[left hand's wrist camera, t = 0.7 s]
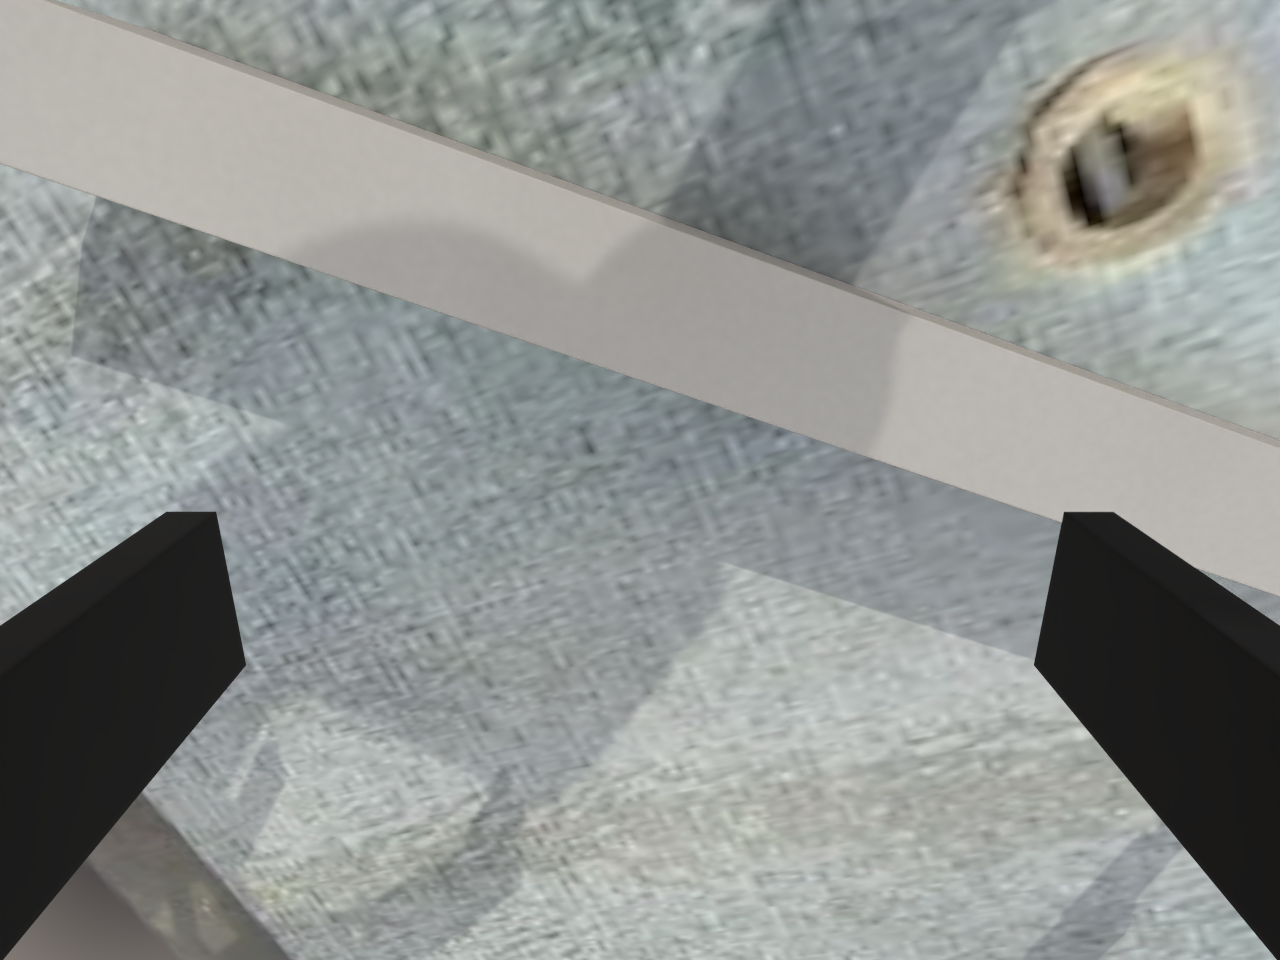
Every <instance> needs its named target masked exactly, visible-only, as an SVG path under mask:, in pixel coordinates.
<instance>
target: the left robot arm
mask: <svg viewBox="0 0 1280 960" xmlns="http://www.w3.org/2000/svg"><path fill="white" fill-rule="evenodd" d="M245 666H246V662H245V657H244V652H243V647H242V642H241V637H240V632H239V626H238V621H237V616H236V611H235V606H234V601H233V596H232V591H231V586H230V581H229V575H228V570H227V565H226V560H225V555H224V550H223V545H222V540H221V535H220V530H219V524H218V519H217V514H216V512H166V513H164V514H163V515H161V516H160V517H158V518H157V519H155V520H154V521H152V522H151V523H150V524H148V525H147V526H145V527H144V528H142V529H141V530H139V531H138V532H136V533H135V534H133V535H132V536H131V537H129V538H128V539H126V540H125V541H123V542H122V543H120V544H119V545H117V546H116V547H115V548H113V549H112V550H110V551H109V552H107V553H106V554H104V555H103V556H101V557H100V558H98V559H97V560H96V561H94V562H93V563H91V564H90V565H88V566H87V567H85V568H84V569H82V570H81V571H79V572H78V573H77V574H75V575H74V576H72V577H71V578H69V579H68V580H66V581H65V582H63V583H62V584H61V585H59V586H58V587H56V588H55V589H53V590H52V591H50V592H49V593H47V594H46V595H44V596H43V597H42V598H40V599H39V600H37V601H36V602H34V603H33V604H31V605H30V606H28V607H27V608H25V609H24V610H23V611H21V612H20V613H18V614H17V615H15V616H14V617H12V618H11V619H9V620H8V621H7V622H5V623H4V624H2V625H1V626H0V960H3V959H4V958H5V957H6V956H7V954H8V953H9V952H10V951H11V949H12V948H13V947H14V946H15V945H16V943H17V942H18V941H19V940H20V938H21V937H22V936H23V935H24V934H25V932H26V931H27V930H28V929H29V928H30V926H31V925H32V924H33V923H34V922H35V920H36V919H37V918H38V917H39V915H40V914H41V913H42V912H43V911H44V909H45V908H46V907H47V906H48V905H49V903H50V902H51V901H52V900H53V899H54V897H55V896H56V895H57V894H58V892H59V891H60V890H61V889H62V888H63V886H64V885H65V884H66V883H67V882H68V880H69V879H70V878H71V877H72V875H73V874H74V873H75V872H76V871H77V869H78V868H79V867H80V866H81V865H82V863H83V862H84V861H85V860H86V859H87V857H88V856H89V855H90V854H91V852H92V851H93V850H94V849H95V848H96V846H97V845H98V844H99V843H100V842H101V840H102V839H103V838H104V837H105V835H106V834H107V833H108V832H109V831H110V829H111V828H112V827H113V826H114V825H115V823H116V822H117V821H118V820H119V818H120V817H121V816H122V815H123V814H124V812H125V811H126V810H127V809H128V808H129V806H130V805H131V804H132V803H133V802H134V800H135V799H136V798H137V797H138V795H139V794H140V793H141V792H142V791H143V789H144V788H145V787H146V786H147V785H148V783H149V782H150V781H151V780H152V778H153V777H154V776H155V775H156V774H157V772H158V771H159V770H160V769H161V768H162V766H163V765H164V764H165V763H166V762H167V760H168V759H169V758H170V757H171V755H172V754H173V753H174V752H175V751H176V749H177V748H178V747H179V746H180V745H181V743H182V742H183V741H184V740H185V738H186V737H187V736H188V735H189V734H190V732H191V731H192V730H193V729H194V728H195V726H196V725H197V724H198V723H199V721H200V720H201V719H202V718H203V717H204V715H205V714H206V713H207V712H208V711H209V709H210V708H211V707H212V706H213V705H214V703H215V702H216V701H217V700H218V698H219V697H220V696H221V695H222V694H223V692H224V691H225V690H226V689H227V688H228V686H229V685H230V684H231V683H232V681H233V680H234V679H235V678H236V677H237V675H238V674H239V673H240V672H241V671H242V669H243V668H244V667H245ZM1034 666H1035V667H1036V668H1037V669H1038V671H1039V672H1040V673H1041V674H1042V675H1043V677H1044V678H1045V679H1046V680H1047V681H1048V683H1049V684H1050V685H1051V686H1052V688H1053V689H1054V690H1055V691H1056V692H1057V694H1058V695H1059V696H1060V697H1061V698H1062V700H1063V701H1064V702H1065V703H1066V705H1067V706H1068V707H1069V708H1070V709H1071V711H1072V712H1073V713H1074V714H1075V715H1076V717H1077V718H1078V719H1079V720H1080V721H1081V723H1082V724H1083V725H1084V726H1085V728H1086V729H1087V730H1088V731H1089V732H1090V734H1091V735H1092V736H1093V737H1094V738H1095V740H1096V741H1097V742H1098V743H1099V745H1100V746H1101V747H1102V748H1103V749H1104V751H1105V752H1106V753H1107V754H1108V755H1109V757H1110V758H1111V759H1112V760H1113V762H1114V763H1115V764H1116V765H1117V766H1118V768H1119V769H1120V770H1121V771H1122V772H1123V774H1124V775H1125V776H1126V777H1127V778H1128V780H1129V781H1130V782H1131V783H1132V785H1133V786H1134V787H1135V788H1136V789H1137V791H1138V792H1139V793H1140V794H1141V795H1142V797H1143V798H1144V799H1145V800H1146V802H1147V803H1148V804H1149V805H1150V806H1151V808H1152V809H1153V810H1154V811H1155V812H1156V814H1157V815H1158V816H1159V817H1160V818H1161V820H1162V821H1163V822H1164V823H1165V825H1166V826H1167V827H1168V828H1169V829H1170V831H1171V832H1172V833H1173V834H1174V835H1175V837H1176V838H1177V839H1178V840H1179V842H1180V843H1181V844H1182V845H1183V846H1184V848H1185V849H1186V850H1187V851H1188V852H1189V854H1190V855H1191V856H1192V857H1193V859H1194V860H1195V861H1196V862H1197V863H1198V865H1199V866H1200V867H1201V868H1202V869H1203V871H1204V872H1205V873H1206V874H1207V875H1208V877H1209V878H1210V879H1211V880H1212V882H1213V883H1214V884H1215V885H1216V886H1217V888H1218V889H1219V890H1220V891H1221V892H1222V894H1223V895H1224V896H1225V897H1226V899H1227V900H1228V901H1229V902H1230V903H1231V905H1232V906H1233V907H1234V908H1235V909H1236V911H1237V912H1238V913H1239V914H1240V915H1241V917H1242V918H1243V919H1244V920H1245V922H1246V923H1247V924H1248V925H1249V926H1250V928H1251V929H1252V930H1253V931H1254V932H1255V934H1256V935H1257V936H1258V937H1259V939H1260V940H1261V941H1262V942H1263V943H1264V945H1265V946H1266V947H1267V948H1268V949H1269V951H1270V952H1271V953H1272V954H1273V956H1274V957H1275V958H1276V959H1277V960H1280V626H1279V625H1278V624H1276V623H1275V622H1273V621H1272V620H1271V619H1269V618H1268V617H1266V616H1265V615H1263V614H1262V613H1260V612H1259V611H1257V610H1256V609H1255V608H1253V607H1252V606H1250V605H1249V604H1247V603H1246V602H1244V601H1243V600H1241V599H1240V598H1238V597H1237V596H1236V595H1234V594H1233V593H1231V592H1230V591H1228V590H1227V589H1225V588H1224V587H1222V586H1221V585H1219V584H1218V583H1217V582H1215V581H1214V580H1212V579H1211V578H1209V577H1208V576H1206V575H1205V574H1203V573H1202V572H1201V571H1199V570H1198V569H1196V568H1195V567H1193V566H1192V565H1190V564H1189V563H1187V562H1186V561H1184V560H1183V559H1182V558H1180V557H1179V556H1177V555H1176V554H1174V553H1173V552H1171V551H1170V550H1168V549H1167V548H1165V547H1164V546H1163V545H1161V544H1160V543H1158V542H1157V541H1155V540H1154V539H1152V538H1151V537H1149V536H1148V535H1147V534H1145V533H1144V532H1142V531H1141V530H1139V529H1138V528H1136V527H1135V526H1133V525H1132V524H1130V523H1129V522H1128V521H1126V520H1125V519H1123V518H1122V517H1120V516H1119V515H1117V514H1116V513H1114V512H1064V514H1063V519H1062V524H1061V529H1060V535H1059V540H1058V545H1057V550H1056V555H1055V560H1054V565H1053V570H1052V575H1051V581H1050V586H1049V591H1048V596H1047V601H1046V606H1045V611H1044V616H1043V621H1042V626H1041V632H1040V637H1039V642H1038V647H1037V652H1036V657H1035V662H1034Z"/></svg>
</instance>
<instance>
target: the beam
mask: <svg viewBox="0 0 1280 960" xmlns="http://www.w3.org/2000/svg"><path fill="white" fill-rule="evenodd" d="M0 164H3V165H6V166H9V167H12V168H15V169H18V170H21V171H24V172H27V173H30V174H33V175H36V176H39V177H42V178H45V179H48V180H50V181H53V182H56V183H59V184H62V185H65V186H68V187H71V188H74V189H77V190H80V191H83V192H86V193H89V194H92V195H95V196H98V197H101V198H104V199H107V200H110V201H113V202H115V203H118V204H121V205H124V206H127V207H130V208H133V209H136V210H139V211H142V212H145V213H148V214H151V215H154V216H157V217H160V218H163V219H166V220H169V221H172V222H175V223H177V224H180V225H183V226H186V227H189V228H192V229H195V230H198V231H201V232H204V233H207V234H210V235H213V236H216V237H219V238H222V239H225V240H228V241H231V242H234V243H237V244H240V245H242V246H245V247H248V248H251V249H254V250H257V251H260V252H263V253H266V254H269V255H272V256H275V257H278V258H281V259H284V260H287V261H290V262H293V263H296V264H299V265H302V266H304V267H307V268H310V269H313V270H316V271H319V272H322V273H325V274H328V275H331V276H334V277H337V278H340V279H343V280H346V281H349V282H352V283H355V284H358V285H361V286H364V287H367V288H369V289H372V290H375V291H378V292H381V293H384V294H387V295H390V296H393V297H396V298H399V299H402V300H405V301H408V302H411V303H414V304H417V305H420V306H423V307H426V308H429V309H432V310H434V311H437V312H440V313H443V314H446V315H449V316H452V317H455V318H458V319H461V320H464V321H467V322H470V323H473V324H476V325H479V326H482V327H485V328H488V329H491V330H494V331H496V332H499V333H502V334H505V335H508V336H511V337H514V338H517V339H520V340H523V341H526V342H529V343H532V344H535V345H538V346H541V347H544V348H547V349H550V350H553V351H556V352H559V353H561V354H564V355H567V356H570V357H573V358H576V359H579V360H582V361H585V362H588V363H591V364H594V365H597V366H600V367H603V368H606V369H609V370H612V371H615V372H618V373H621V374H623V375H626V376H629V377H632V378H635V379H638V380H641V381H644V382H647V383H650V384H653V385H656V386H659V387H662V388H665V389H668V390H671V391H674V392H677V393H680V394H683V395H686V396H688V397H691V398H694V399H697V400H700V401H703V402H706V403H709V404H712V405H715V406H718V407H721V408H724V409H727V410H730V411H733V412H736V413H739V414H742V415H745V416H748V417H751V418H753V419H756V420H759V421H762V422H765V423H768V424H771V425H774V426H777V427H780V428H783V429H786V430H789V431H792V432H795V433H798V434H801V435H804V436H807V437H810V438H813V439H815V440H818V441H821V442H824V443H827V444H830V445H833V446H836V447H839V448H842V449H845V450H848V451H851V452H854V453H857V454H860V455H863V456H866V457H869V458H872V459H875V460H878V461H880V462H883V463H886V464H889V465H892V466H895V467H898V468H901V469H904V470H907V471H910V472H913V473H916V474H919V475H922V476H925V477H928V478H931V479H934V480H937V481H940V482H942V483H945V484H948V485H951V486H954V487H957V488H960V489H963V490H966V491H969V492H972V493H975V494H978V495H981V496H984V497H987V498H990V499H993V500H996V501H999V502H1002V503H1005V504H1007V505H1010V506H1013V507H1016V508H1019V509H1022V510H1025V511H1028V512H1031V513H1034V514H1037V515H1040V516H1043V517H1046V518H1049V519H1052V520H1055V521H1058V522H1061V523H1062V519H1063V514H1064V512H1114V513H1116V514H1117V515H1119V516H1120V517H1122V518H1123V519H1125V520H1126V521H1128V522H1129V523H1130V524H1132V525H1133V526H1135V527H1136V528H1138V529H1139V530H1141V531H1142V532H1144V533H1145V534H1147V535H1148V536H1149V537H1151V538H1152V539H1154V540H1155V541H1157V542H1158V543H1160V544H1161V545H1163V546H1164V547H1165V548H1167V549H1168V550H1170V551H1171V552H1173V553H1174V554H1176V555H1177V556H1179V557H1180V558H1182V559H1183V560H1184V561H1186V562H1187V563H1189V564H1190V565H1192V566H1193V567H1195V568H1197V569H1199V570H1202V571H1205V572H1208V573H1211V574H1214V575H1217V576H1220V577H1223V578H1226V579H1229V580H1232V581H1235V582H1238V583H1241V584H1244V585H1247V586H1250V587H1253V588H1256V589H1259V590H1261V591H1264V592H1267V593H1270V594H1273V595H1276V596H1279V597H1280V441H1279V440H1276V439H1273V438H1271V437H1268V436H1265V435H1262V434H1260V433H1257V432H1254V431H1251V430H1249V429H1246V428H1243V427H1240V426H1238V425H1235V424H1232V423H1229V422H1227V421H1224V420H1221V419H1218V418H1216V417H1213V416H1210V415H1207V414H1205V413H1202V412H1199V411H1196V410H1194V409H1191V408H1188V407H1185V406H1183V405H1180V404H1177V403H1174V402H1172V401H1169V400H1166V399H1163V398H1161V397H1158V396H1155V395H1152V394H1150V393H1147V392H1144V391H1141V390H1139V389H1136V388H1133V387H1130V386H1128V385H1125V384H1122V383H1119V382H1117V381H1114V380H1111V379H1108V378H1106V377H1103V376H1100V375H1097V374H1095V373H1092V372H1089V371H1086V370H1084V369H1081V368H1078V367H1075V366H1073V365H1070V364H1067V363H1064V362H1062V361H1059V360H1056V359H1053V358H1051V357H1048V356H1045V355H1042V354H1040V353H1037V352H1034V351H1031V350H1029V349H1026V348H1023V347H1020V346H1018V345H1015V344H1012V343H1009V342H1007V341H1004V340H1001V339H998V338H996V337H993V336H990V335H987V334H985V333H982V332H979V331H976V330H974V329H971V328H968V327H965V326H963V325H960V324H957V323H954V322H952V321H949V320H946V319H943V318H941V317H938V316H935V315H932V314H930V313H927V312H924V311H921V310H919V309H916V308H913V307H910V306H908V305H905V304H902V303H899V302H897V301H894V300H891V299H888V298H886V297H883V296H880V295H877V294H875V293H872V292H869V291H866V290H864V289H861V288H858V287H855V286H853V285H850V284H847V283H844V282H842V281H839V280H836V279H833V278H831V277H828V276H825V275H822V274H820V273H817V272H814V271H811V270H809V269H806V268H803V267H800V266H798V265H795V264H792V263H789V262H787V261H784V260H781V259H778V258H776V257H773V256H770V255H767V254H765V253H762V252H759V251H756V250H754V249H751V248H748V247H745V246H743V245H740V244H737V243H734V242H732V241H729V240H726V239H723V238H721V237H718V236H715V235H712V234H710V233H707V232H704V231H701V230H699V229H696V228H693V227H690V226H688V225H685V224H682V223H679V222H677V221H674V220H671V219H668V218H666V217H663V216H660V215H657V214H655V213H652V212H649V211H646V210H644V209H641V208H638V207H635V206H633V205H630V204H627V203H624V202H622V201H619V200H616V199H613V198H611V197H608V196H605V195H602V194H600V193H597V192H594V191H591V190H589V189H586V188H583V187H580V186H578V185H575V184H572V183H569V182H567V181H564V180H561V179H558V178H556V177H553V176H550V175H547V174H545V173H542V172H539V171H536V170H534V169H531V168H528V167H525V166H523V165H520V164H517V163H514V162H512V161H509V160H506V159H503V158H501V157H498V156H495V155H492V154H490V153H487V152H484V151H481V150H479V149H476V148H473V147H470V146H468V145H465V144H462V143H459V142H457V141H454V140H451V139H448V138H446V137H443V136H440V135H437V134H435V133H432V132H429V131H426V130H424V129H421V128H418V127H415V126H413V125H410V124H407V123H404V122H402V121H399V120H396V119H393V118H391V117H388V116H385V115H382V114H380V113H377V112H374V111H371V110H369V109H366V108H363V107H360V106H358V105H355V104H352V103H349V102H347V101H344V100H341V99H338V98H336V97H333V96H330V95H327V94H325V93H322V92H319V91H316V90H314V89H311V88H308V87H305V86H303V85H300V84H297V83H294V82H292V81H289V80H286V79H283V78H281V77H278V76H275V75H272V74H270V73H267V72H264V71H261V70H259V69H256V68H253V67H250V66H248V65H245V64H242V63H239V62H237V61H234V60H231V59H228V58H226V57H223V56H220V55H217V54H215V53H212V52H209V51H206V50H204V49H201V48H198V47H195V46H193V45H190V44H187V43H184V42H182V41H179V40H176V39H173V38H171V37H168V36H165V35H162V34H160V33H157V32H154V31H151V30H149V29H146V28H143V27H139V26H136V25H133V24H130V23H126V22H123V21H120V20H117V19H114V18H110V17H107V16H104V15H101V14H98V13H94V12H91V11H88V10H85V9H81V8H78V7H75V6H72V5H69V4H65V3H62V2H59V1H56V0H0Z"/></svg>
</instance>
